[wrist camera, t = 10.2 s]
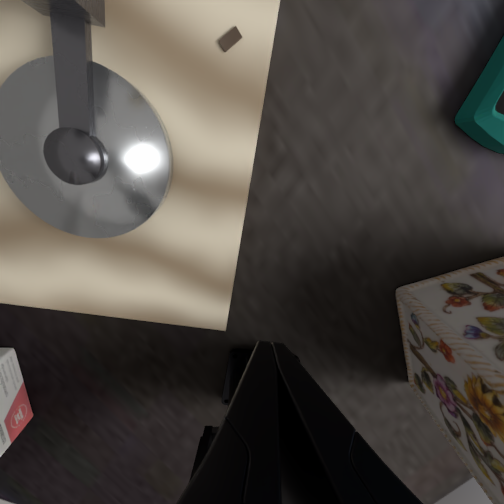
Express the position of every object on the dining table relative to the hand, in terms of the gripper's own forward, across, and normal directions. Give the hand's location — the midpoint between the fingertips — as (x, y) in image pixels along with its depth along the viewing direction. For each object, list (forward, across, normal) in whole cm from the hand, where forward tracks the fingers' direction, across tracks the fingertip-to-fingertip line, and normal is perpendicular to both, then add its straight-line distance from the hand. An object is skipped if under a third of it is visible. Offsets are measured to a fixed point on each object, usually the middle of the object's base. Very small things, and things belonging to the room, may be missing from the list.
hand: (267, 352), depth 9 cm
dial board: (+13, +11, -4) cm, 17 cm away
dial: (+11, +11, -6) cm, 17 cm away
